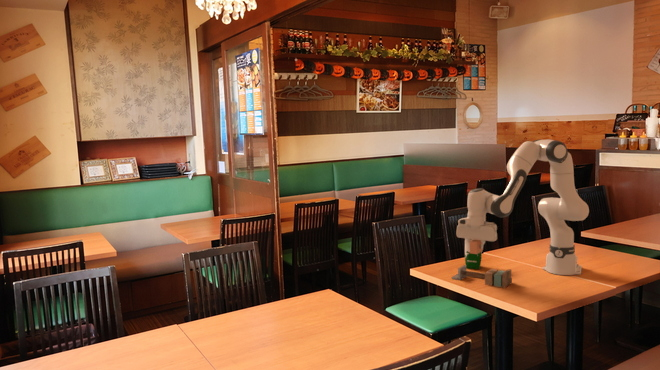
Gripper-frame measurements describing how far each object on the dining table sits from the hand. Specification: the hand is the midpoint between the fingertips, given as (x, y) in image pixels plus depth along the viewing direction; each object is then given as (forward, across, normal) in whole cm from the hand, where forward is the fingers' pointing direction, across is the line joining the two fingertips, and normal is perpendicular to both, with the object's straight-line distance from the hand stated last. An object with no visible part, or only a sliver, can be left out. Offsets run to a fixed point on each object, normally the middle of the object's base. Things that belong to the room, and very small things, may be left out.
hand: (476, 248), depth 256 cm
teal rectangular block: (+17, -12, 0) cm, 21 cm away
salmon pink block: (+2, 0, 0) cm, 2 cm away
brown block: (+17, -8, 0) cm, 19 cm away
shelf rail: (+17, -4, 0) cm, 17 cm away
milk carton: (+17, +11, -22) cm, 30 cm away
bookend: (+17, +9, 0) cm, 19 cm away
